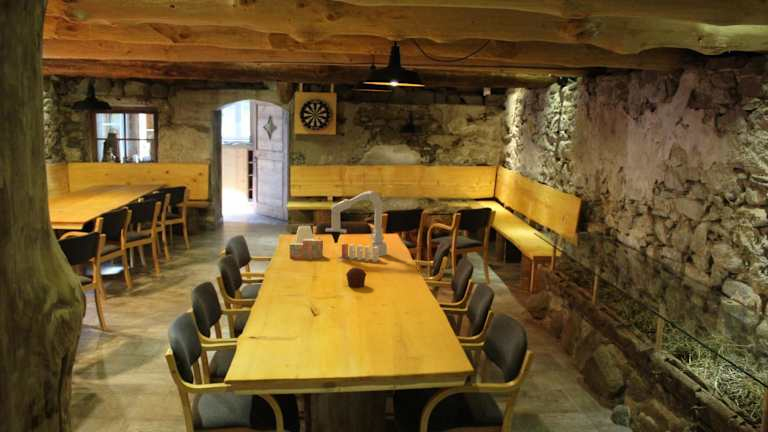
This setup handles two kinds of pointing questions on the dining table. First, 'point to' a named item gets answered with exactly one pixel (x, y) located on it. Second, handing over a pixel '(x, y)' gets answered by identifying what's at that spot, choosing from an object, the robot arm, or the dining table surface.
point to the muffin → (356, 278)
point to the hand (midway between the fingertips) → (336, 242)
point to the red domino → (345, 250)
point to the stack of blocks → (307, 249)
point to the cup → (303, 234)
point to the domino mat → (356, 259)
